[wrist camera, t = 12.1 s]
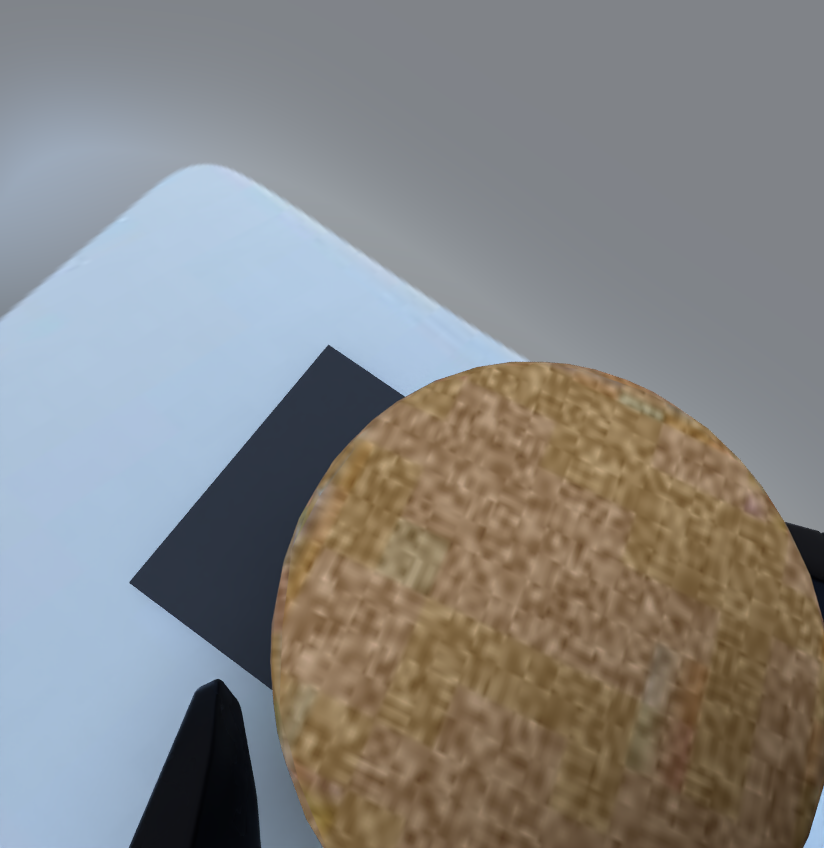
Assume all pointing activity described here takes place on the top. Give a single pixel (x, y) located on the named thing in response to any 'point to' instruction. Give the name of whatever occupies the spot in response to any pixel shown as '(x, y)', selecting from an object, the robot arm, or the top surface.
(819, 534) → the robot arm
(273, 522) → the desk mat
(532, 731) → the cork-stoppered jar
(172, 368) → the top surface
